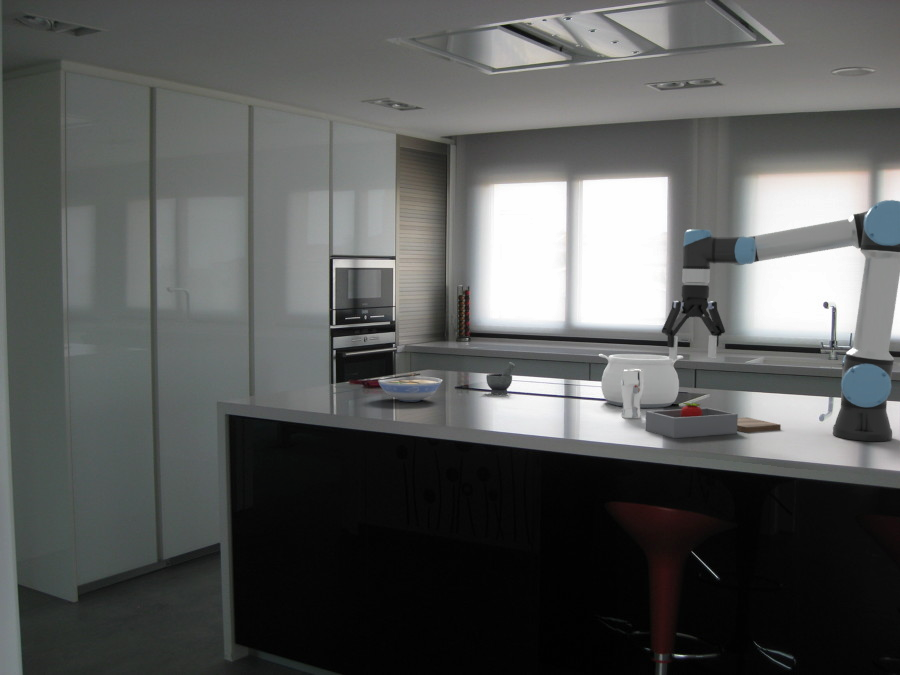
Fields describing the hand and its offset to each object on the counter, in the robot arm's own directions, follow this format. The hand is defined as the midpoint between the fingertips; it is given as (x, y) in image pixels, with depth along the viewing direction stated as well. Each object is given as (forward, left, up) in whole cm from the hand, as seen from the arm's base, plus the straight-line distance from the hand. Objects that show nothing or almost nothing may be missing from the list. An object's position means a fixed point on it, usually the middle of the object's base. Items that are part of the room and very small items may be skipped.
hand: (692, 358), depth 254 cm
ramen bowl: (+84, +55, -21) cm, 102 cm away
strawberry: (-1, +1, -21) cm, 21 cm away
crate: (-1, +1, -21) cm, 21 cm away
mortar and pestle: (+91, +16, -21) cm, 95 cm away
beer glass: (+27, +2, -21) cm, 34 cm away
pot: (+51, -18, -21) cm, 58 cm away
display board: (0, -20, -21) cm, 29 cm away
